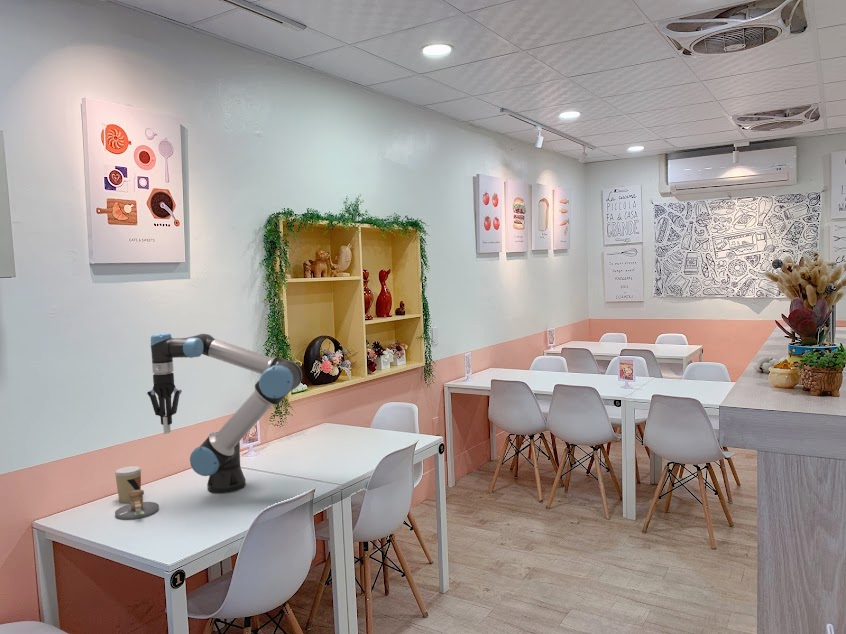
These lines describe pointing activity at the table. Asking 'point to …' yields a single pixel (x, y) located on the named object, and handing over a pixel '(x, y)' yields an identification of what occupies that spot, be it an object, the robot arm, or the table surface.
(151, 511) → the plate
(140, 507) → the peg dial
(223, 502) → the table surface
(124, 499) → the coffee cup
